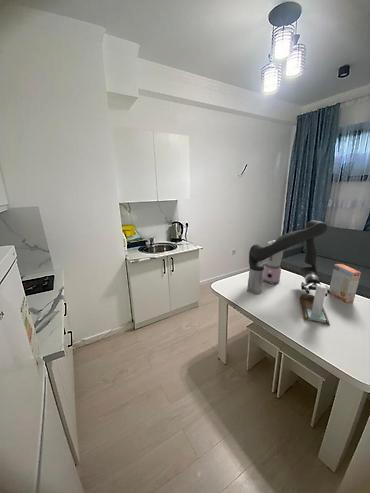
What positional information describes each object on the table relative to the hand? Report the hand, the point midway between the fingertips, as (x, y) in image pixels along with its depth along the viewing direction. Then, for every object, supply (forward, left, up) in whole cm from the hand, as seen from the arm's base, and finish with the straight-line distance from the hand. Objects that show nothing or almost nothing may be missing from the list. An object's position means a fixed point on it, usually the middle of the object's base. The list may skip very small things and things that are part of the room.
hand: (317, 293), depth 116 cm
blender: (-24, +32, -12) cm, 42 cm away
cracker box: (+19, +25, -12) cm, 34 cm away
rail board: (0, +2, -12) cm, 12 cm away
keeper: (0, -6, -11) cm, 13 cm away
